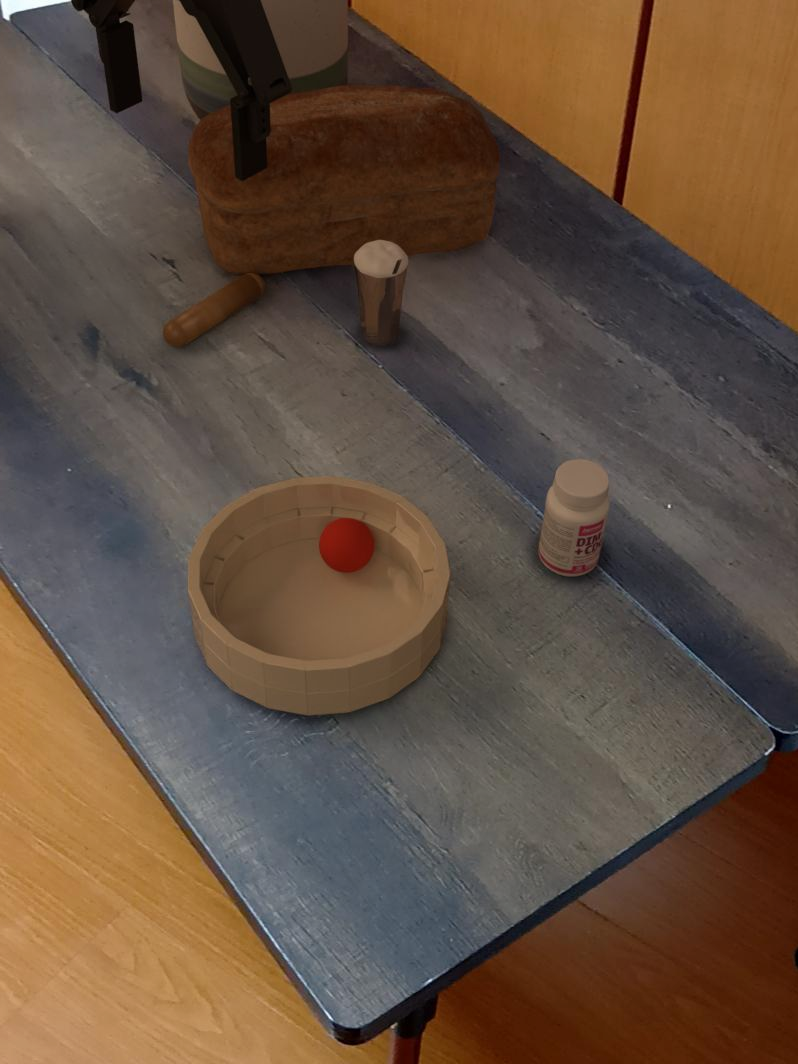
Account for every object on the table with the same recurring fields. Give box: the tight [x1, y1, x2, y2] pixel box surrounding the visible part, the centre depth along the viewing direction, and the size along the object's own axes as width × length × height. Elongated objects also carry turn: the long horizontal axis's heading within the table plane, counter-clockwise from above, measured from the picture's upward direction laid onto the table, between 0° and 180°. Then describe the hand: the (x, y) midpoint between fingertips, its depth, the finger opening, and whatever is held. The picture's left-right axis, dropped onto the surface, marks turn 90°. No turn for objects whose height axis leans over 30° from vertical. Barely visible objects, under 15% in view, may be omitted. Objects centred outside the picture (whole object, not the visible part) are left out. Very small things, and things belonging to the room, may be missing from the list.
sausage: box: [162, 273, 266, 348], centre depth 116 cm, size 11×2×2 cm
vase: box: [172, 0, 349, 121], centre depth 131 cm, size 17×17×24 cm
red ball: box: [319, 518, 374, 573], centre depth 96 cm, size 4×4×4 cm
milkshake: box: [353, 240, 409, 347], centre depth 113 cm, size 4×5×10 cm
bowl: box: [187, 475, 451, 716], centre depth 93 cm, size 18×18×6 cm
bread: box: [187, 84, 501, 276], centre depth 121 cm, size 12×28×14 cm, turn 110°
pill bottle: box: [537, 458, 611, 577], centre depth 98 cm, size 5×5×8 cm
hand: (187, 138), depth 103 cm, fingers open, 13 cm apart
